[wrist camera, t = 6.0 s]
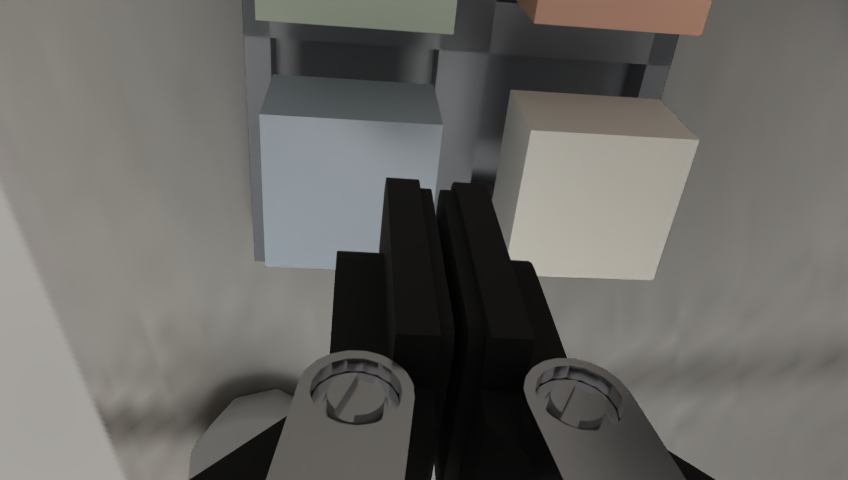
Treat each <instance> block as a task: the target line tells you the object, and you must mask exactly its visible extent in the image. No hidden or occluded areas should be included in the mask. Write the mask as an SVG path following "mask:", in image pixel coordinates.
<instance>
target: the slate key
mask: <svg viewBox="0 0 848 480" xmlns="http://www.w3.org/2000/svg"><path fill="white" fill-rule="evenodd" d="M259 121H260V147H261V172H262V197H263V223H264V248H265V267H285V268H314V269H336V256H337V251H353V252H371V253H379V244H380V234H381V223H382V212H383V201H384V190H385V182H386V177H389V178H403V179H418V180H419V182H420V188H426V189H431V190H432V196H433V202H434V200H435V191H436V183H437V174H438V165H439V157H440V148H441V139H442V130H443V123H442V118H441V114H440V110H439V106H438V102H437V97H436V93H435V89H434V85H432V84H417V83H402V82H386V81H371V80H355V79H340V78H325V77H309V76H294V75H279V74H273V76H272V79H271V82H270V85H269V88H268V91H267V93H266V96H265V99H264V102H263V105H262V108H261V111H260V113H259Z"/></svg>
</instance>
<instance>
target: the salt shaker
mask: <svg viewBox="0 0 848 480" xmlns="http://www.w3.org/2000/svg"><path fill="white" fill-rule="evenodd" d="M293 397H294V396H292V395H290V394H288V393H286V392H283V391H281V390H279V389H272V390H268V391H263V392H259V393H254V394H250V395H245V396H241V397H236V398H235V399H234V400H233V401H232V402H231V403H230V404H229V405H228V406H227V408H226V409H225V410H224V411H223V412H222V413H221V414H220V415H219V416H218V417H217V419H216V420H215V421H214V422H213V423H212V424H211V425H210V427H209V428H208V429H207V430H206V431H205V433H204V434H203V435H202V436H201V437H200V439H199V440H198V441H197V442H196V444H195V446H194V448H193V450H192V452H191V459H190V469H189V480H190V479H191V478H193V477H194V476H196V475H197V474H199V473H200V472H202V471H203V470H205V469H206V468H208V467H209V466H211V465H212V464H214V463H216V462H217V461H219V460H220V459H222V458H223V457H225V456H226V455H228V454H229V453H231V452H232V451H234V450H235V449H237V448H238V447H240V446H241V445H243V444H245V443H246V442H248V441H249V440H251V439H252V438H254V437H255V436H257V435H258V434H260V433H261V432H263V431H264V430H266V429H267V428H269V427H270V426H272V425H274V424H275V423H277V422H278V421H280V420H281V419H283V418H284V417H286V416H287V415H288V412H289V409H290V406H291V403H292V400H293Z"/></svg>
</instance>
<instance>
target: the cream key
mask: <svg viewBox="0 0 848 480" xmlns="http://www.w3.org/2000/svg"><path fill="white" fill-rule="evenodd" d="M699 141H700V140H699V139H698V138H697V137H696V136H695V135H694V134H693V133H692V132H691V131H690V130H689V129H688V128H687V127H686V126H685V125H684V124H683V123H682V122H681V121H680V120H679V119H678V118H677V117H676V116H675V115H674V114H673V113H672V112H671V111H670V110H669V109H668V108H667V107H666V106H665V105H664V104H663V103H662V102H661V101H660V100H659V99H648V98H632V97H617V96H602V95H586V94H571V93H555V92H540V91H525V90H510V96H509V102H508V108H507V114H506V120H505V126H504V132H503V138H502V144H501V150H500V156H499V162H498V168H497V174H496V180H495V187H494V193H493V199H492V203H493V206H494V209H495V212H496V215H497V219H498V222H499V225H500V228H501V231H502V234H503V238H504V241H505V244H506V247H507V250H508V253H509V256H510V260H519V261H529V262H531V263H532V265H533V267H534V269H535V271H536V274H537V276H545V277H574V278H603V279H631V280H653V279H654V276H655V273H656V270H657V267H658V264H659V261H660V258H661V255H662V252H663V249H664V246H665V243H666V240H667V237H668V234H669V231H670V228H671V225H672V222H673V219H674V216H675V213H676V210H677V207H678V204H679V201H680V198H681V195H682V192H683V189H684V186H685V183H686V180H687V177H688V174H689V171H690V168H691V165H692V162H693V159H694V156H695V153H696V150H697V147H698V144H699Z"/></svg>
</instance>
